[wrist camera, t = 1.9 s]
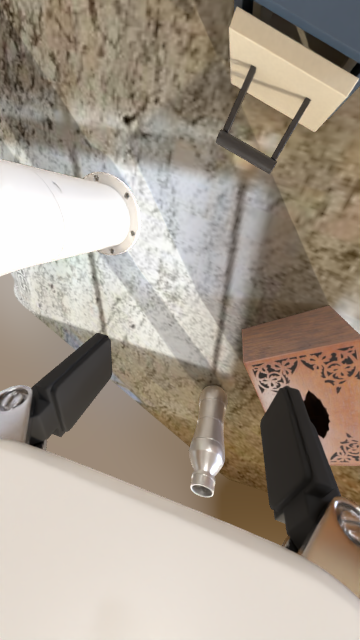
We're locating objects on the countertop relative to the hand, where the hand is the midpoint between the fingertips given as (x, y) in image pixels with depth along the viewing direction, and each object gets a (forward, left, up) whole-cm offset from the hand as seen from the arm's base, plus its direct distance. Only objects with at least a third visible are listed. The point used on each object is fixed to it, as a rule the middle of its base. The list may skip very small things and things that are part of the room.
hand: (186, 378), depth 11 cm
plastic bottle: (+14, -26, -27) cm, 40 cm away
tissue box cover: (+24, -10, -27) cm, 38 cm away
